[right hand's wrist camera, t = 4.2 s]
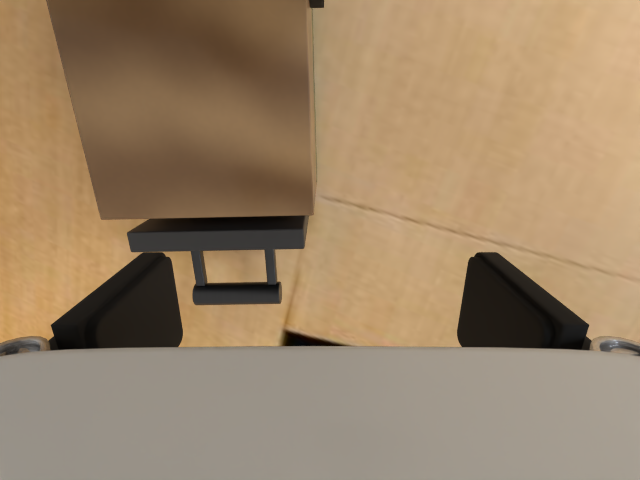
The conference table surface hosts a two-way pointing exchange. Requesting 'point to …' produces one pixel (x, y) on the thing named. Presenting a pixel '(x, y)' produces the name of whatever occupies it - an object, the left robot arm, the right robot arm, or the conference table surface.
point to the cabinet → (193, 104)
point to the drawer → (224, 236)
